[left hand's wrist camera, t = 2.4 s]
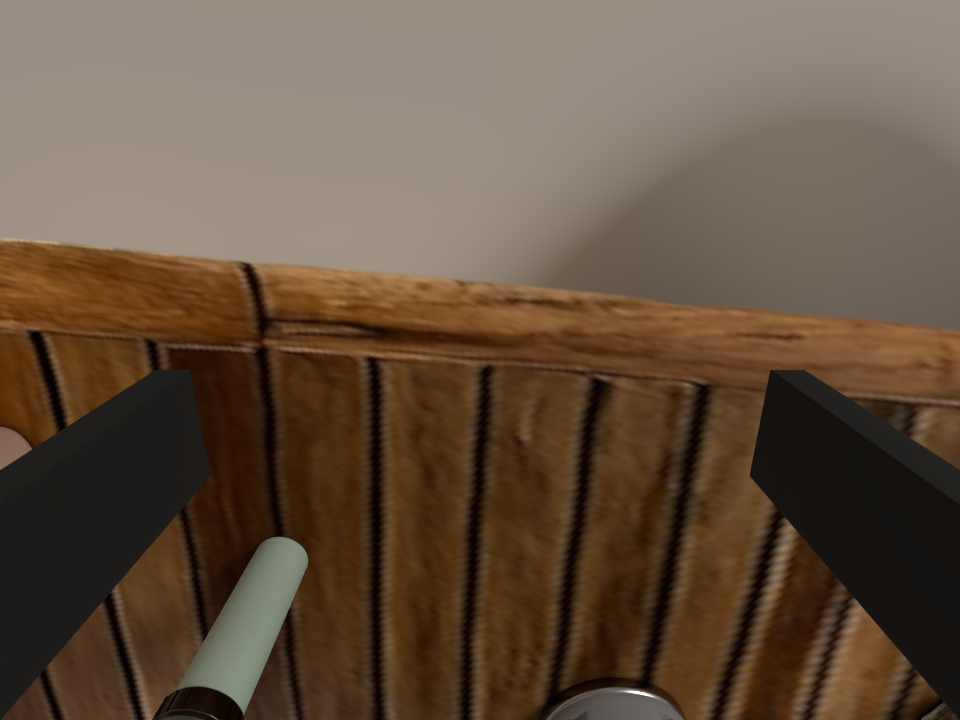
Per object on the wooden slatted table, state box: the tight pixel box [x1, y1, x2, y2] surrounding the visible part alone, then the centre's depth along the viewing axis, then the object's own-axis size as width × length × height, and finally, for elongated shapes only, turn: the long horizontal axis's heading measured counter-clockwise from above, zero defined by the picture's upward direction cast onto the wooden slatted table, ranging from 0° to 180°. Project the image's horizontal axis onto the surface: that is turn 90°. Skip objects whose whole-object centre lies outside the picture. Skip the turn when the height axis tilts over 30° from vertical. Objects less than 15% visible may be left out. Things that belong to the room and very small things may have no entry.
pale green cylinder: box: [176, 537, 308, 715], centre depth 41 cm, size 5×5×16 cm
